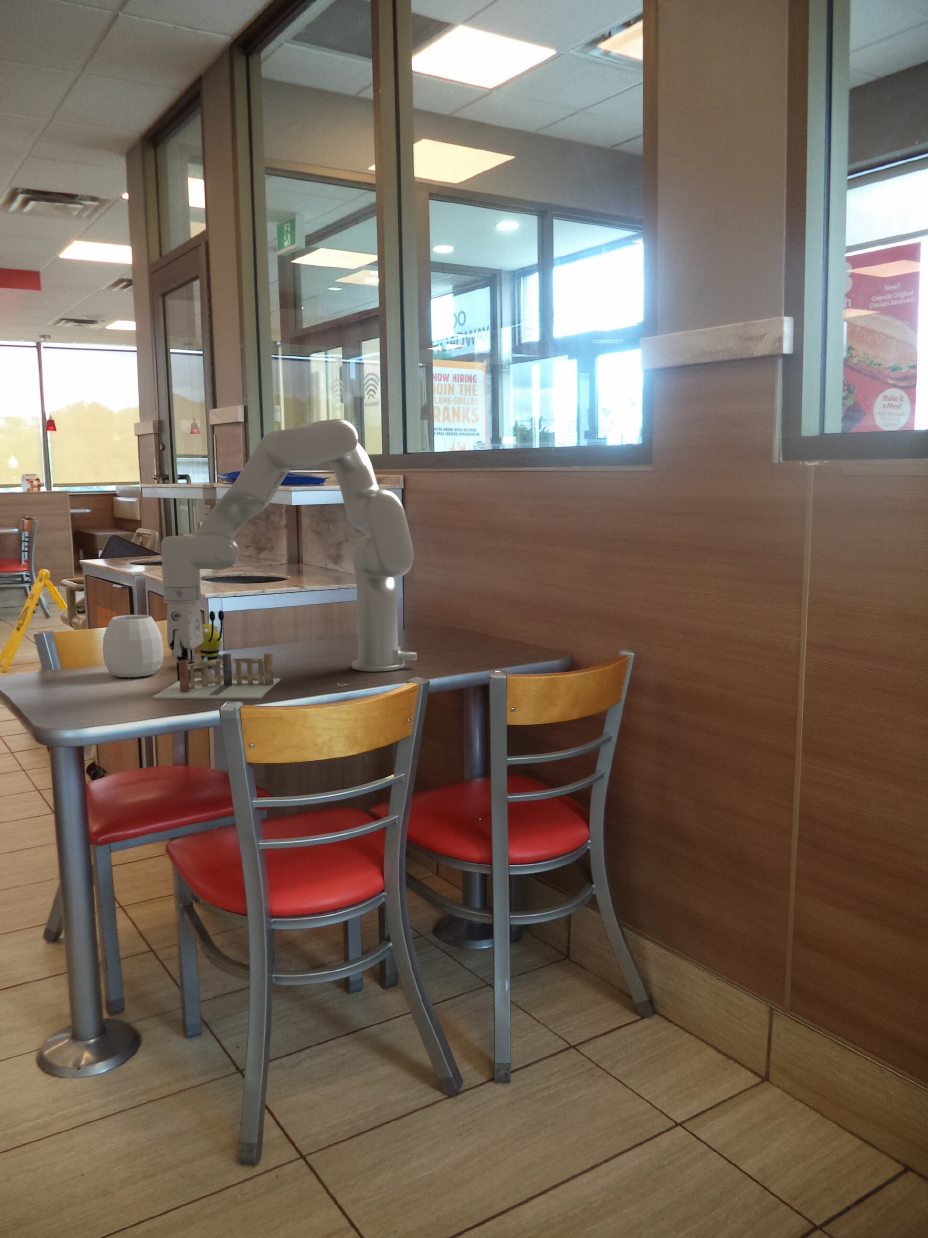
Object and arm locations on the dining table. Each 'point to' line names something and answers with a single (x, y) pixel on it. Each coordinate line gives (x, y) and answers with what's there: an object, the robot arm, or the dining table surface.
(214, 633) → the toy
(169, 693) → the card
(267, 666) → the fence fixed
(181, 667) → the fence wing
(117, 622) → the white faceted vase
